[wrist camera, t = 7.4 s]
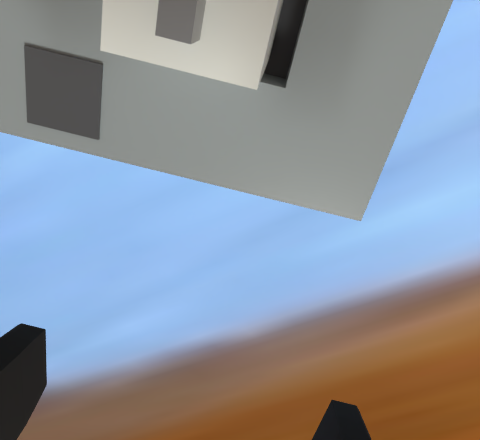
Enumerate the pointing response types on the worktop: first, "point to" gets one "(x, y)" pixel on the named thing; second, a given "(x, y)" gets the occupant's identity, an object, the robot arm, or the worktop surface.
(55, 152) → the worktop surface
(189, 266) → the worktop surface
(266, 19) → the charger
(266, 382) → the worktop surface
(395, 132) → the plate
